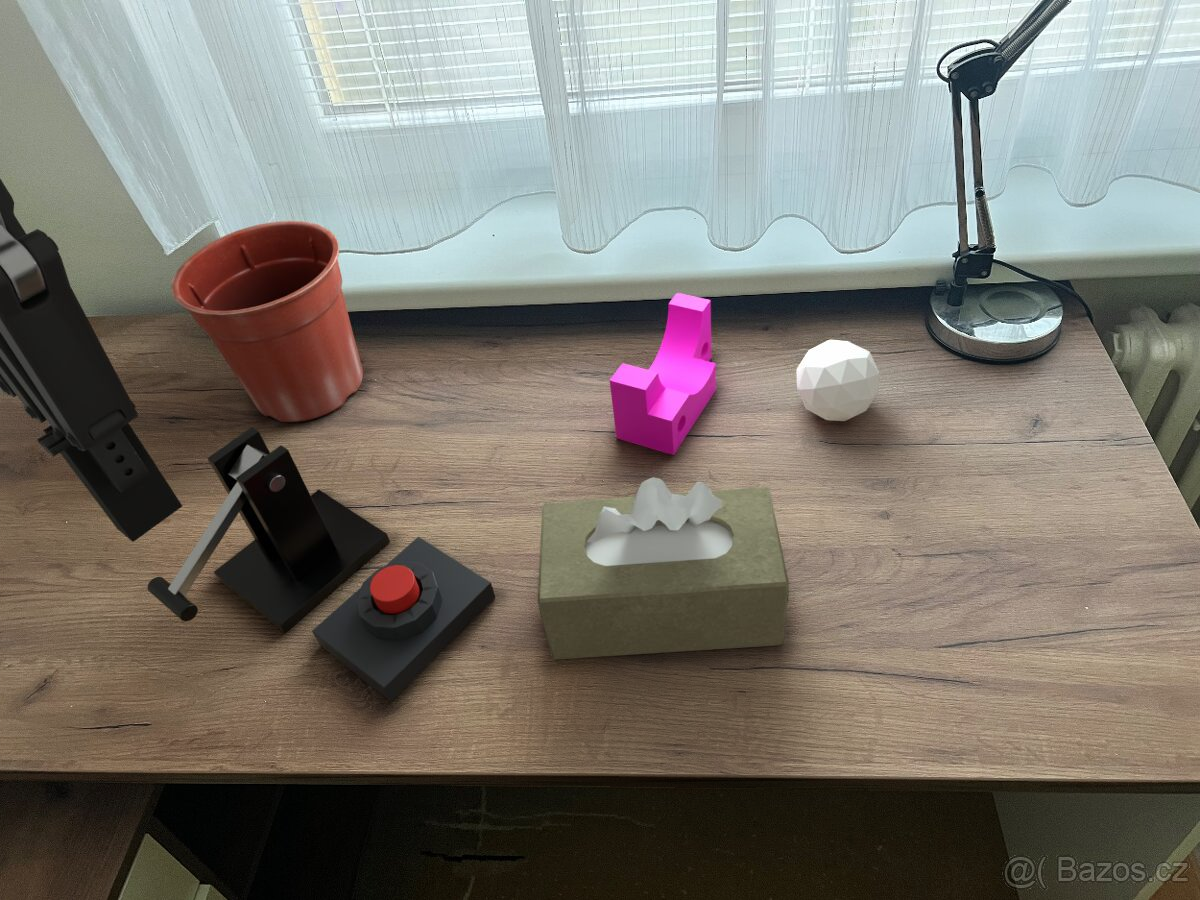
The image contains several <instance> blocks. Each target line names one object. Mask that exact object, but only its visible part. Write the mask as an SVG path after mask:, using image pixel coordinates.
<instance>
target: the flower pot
mask: <svg viewBox="0 0 1200 900" xmlns="http://www.w3.org/2000/svg"><path fill="white" fill-rule="evenodd" d="M339 255H340V245H339V241H338V238H337V236H336V235H335V234H334V233H333V232H332V231H331V230H330V229H328V228H326V227H324V226H322V225H319V224H316V223H315V222H309V221H303V220H282V221H281V220H280V221H271V222H266V223H260V224H256V225H252V226H248V227H245V228H242V229H239V230H235V231H233V232H231V233H228V234H226V235H223V236H221V237H220V238H217V239H215V240H213V241H211V242H209V243H208V244H206V245H204V246H203V247H201V248H199V250H197V251H196V252H194V253H193V254H192V255H191V256H189V257H188V258H187V259H186V260H185V261H184V262H183V263H182V265H181V266H179V267H178V269H177V270H176V272H175V273H174V275H173V278H172V281H171V286H170V288H171V294H172V297H173V299H174V300H175V301H176V303H178V304H179V305H180V307H181V308H183V309H184V310H186V311H188V312H189V313H190V315H191V316H192V318H193V319H194V321H195V322H196V323H197V325H198V327H199V328H200V329H201V330H202V331H203V332H204V333H205V334H207V335H208V336H209V337H210V339H211V340H212V342H213V343H214V345H215V347H216V348H217V349H218V351H219V352H220V354H221V356H222V357H223V359H224V360H225V362H226V364H227V365H228V366H229V368H230V369H231V371H232V373H233V374H234V375H235V377H236V379H237V380H238V381H239V383H240V385H241V386H242V388H243V389H244V391H245V392H246V394H247V395H248V396H249V398H250V400H251V401H252V403H253V404H254V406H255V407H256V409H257V410H258V411H259V413H260V414H262V415H263V416H264V417H271V418H273V419H276V420H278V421H279V422H283V423H297V422H298V423H299V422H305V421H309V420H313V419H317V418H320V417H323V416H325V415H328V414H330V413H332V412H334V411H335V410H337V409H339V408H340V407H342V406H343V405H344V404H345V402H346V400H347V398H349V396H350V395H352V394H355V393H357V391H358V390H359V388H360V387H361V385H362V381H363V377H364V370H363V369H364V368H363V365H362V362H361V359H360V354H359V350H358V346H357V343H356V338H355V335H354V332H353V327H352V324H351V320H350V316H349V313H348V308H347V304H346V300H345V297H344V292H343V289H342V286H343V277H342V272H341V268H340V265H339Z"/></svg>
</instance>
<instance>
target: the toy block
mask: <svg viewBox="0 0 1200 900" xmlns="http://www.w3.org/2000/svg"><path fill="white" fill-rule="evenodd" d="M711 302H712V300H711V299H707V298H702V297H699V296H698V297H697V296H692V295H689V294H684V293H681V292H676V294H675V295H674V296H673V297H672V299H671V300H670V301H669V303H668V312H667V321H666V326H665V331H664V334H663V338H662V341H661V344H660V347H659V350H658V351H657V354H656V356H655V359H654V360H653V362H652V364H651V365H650V367H649V368H648V369H647V368H642V367H638V366H634V365H631V364H628V363H627V364H626V363H624V362H622V364H621V365H620V366H619V367H618V368H617V370H616V371H615V372H614V374H613V375H612V376H611V378H610V379H609V388H610V396H611V405H612V413H613V421H614V429H615V438H616V439H619V440H622V441H625V442H627V443H631V444H635V445H637V446H642V447H645V448H649V449H652V450H656V451H658V452H662V453H664V454H668V455H673V456H674V455H675V454H676V452H677V451H678V449H679V448H680V446H681V445H682V443H683V442H684V440H685V439H686V437H687V435H688V434H689V432H690V431H691V430H692V428H693V426H694V424H695V423H696V422H697V420H698V418H699V417H700V416H701V413H702V412H703V411H704V410H705V408H706V405H707V404H708V403H709V401H710V400H711V398H712V397H713V395H714V393H715V392H716V390H717V373H716V372H717V371H716V370H717V369H716V368H717V367H716V365H717V364H716V362H712V361H711V359H712V306H711V305H712V304H711Z"/></svg>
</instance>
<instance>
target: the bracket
mask: <svg viewBox="0 0 1200 900" xmlns="http://www.w3.org/2000/svg"><path fill="white" fill-rule="evenodd" d="M246 445H249V446H251V447H253V448H256V449H258V450H260V451H262V452H264V453H266V454H268V455H267V456H265V457H264V458H262V459H261V460H260V461H258V462H257V463H256V464H254V465H253V466H252V467H250V468H249V469H247V470H246V471H245V472H243V473H242V474H241V475H239V476H238V477H236V479H237V480H236V479H235V478H233V477H232V476H230V475H229V474H228V473H229V472H230V470H231V469H232V467H233V465H234V464H235V462H236V461H237V459H238V458H239V456H240V455H241V453H242V452H243V450H244V449H245V447H246ZM207 460H208V461H207V462H209V464H210V466H211V467H212V469H213V471H214V472H215V474H216V476H217V478H218V479H219V481H220V483H221V485H222V486H223V488H224V490H225V491H226V493H227V496H228V495H229V493H230V492H231V490H232V489H233V487H234V486H235V484H236V482H237V481H238V483H239V485H240V487H241V488H242V490H243V492H244V494H245V495H246V497H247V501H246V502H245V504H244V505H243V507H242V508H241V510H240V511H239V513H238V514H239V515H240V517H241V518H242V520H243V522H244V524H245V525H246V527H247V529H248V530H249V532H250V534H251V536H252V537H253V540H252V541H251V542H250V543H249V544H247V545H246V546H244V547H243V548H242V549H241V550H240V551H238V552H237V553H235V555H233V556H232V557H231V558H229V559H228V560H227V561H226V562H224V563H223V564H222V565H221V566H220V567H218V568H217V569H216V570H214V571H213V573H214V576H215V577H216V578H217V579H218V581H219V582H220V583H222V584H223V585H224V586H225V587H227V588H228V589H229V590H230V591H232V593H234V594H235V595H237V596H238V597H239V598H240V599H241V600H243V601H244V602H246V604H248V605H249V606H250V607H251V608H253V609H254V610H255V611H256V612H258V613H259V614H260V615H261V616H263V617H264V618H265V619H266V620H267V621H268V622H270V623H271V624H273V625H274V626H275V627H276V628H277V629H279V630H280V631H281V632H282V633H284V634H286V633H287V632H289V631H290V630H291V629H292V628H294V626H296V625H297V624H298V623H300V621H302V619H304V618H305V617H306V616H307V615H308V614H310V612H312V611H313V610H314V609H315V608H316V607H318V605H320V604H321V603H323V601H324V600H325V599H327V598H328V597H329V596H330V595H331V594H332V593H334V591H336V590H337V589H338V588H339V587H341V585H342V584H344V583H345V582H346V581H347V580H349V579H350V578H351V577H352V576H353V575H354V574H356V572H358V571H359V570H360V569H361V568H362V567H363V566H364V565H365V564H367V563H368V562H369V561H370V560H371V559H373V558H374V557H375V556H376V555H377V554H379V553H380V552H381V551H382V550H383V549H385V547H386V546H387V545H389V544H390V543H391V540H390V537H389V535H388V533H387V532H385V531H384V530H382V529H381V528H379V527H377V526H376V525H374V524H373V523H371V522H370V521H368V520H367V519H365V518H364V517H362V516H361V515H359V514H358V513H356V512H354V511H353V510H351V508H348V507H346V506H345V505H344V504H342V503H341V502H339V501H337V500H336V499H335V498H334V497H333V498H332V497H331V496H330V495H328V494H327V493H326V492H324V491H322V490H320V489H317V490H316V491H315V492H313V493H312V494H310V491H309V489H308V487H307V485H306V483H305V481H304V479H303V477H302V475H301V473H300V471H299V469H298V467H297V465H296V463H295V460H294V459H293V457H292V455H291V453H290V451H289V449H288V448H287V447H285V446H283V445H279V446H277V447H276V448H275V449H273V450H272V451H271V452H270V450H269V448H268V446H267V444H266V442H265V440H264V438H263V436H262V434H261V432H260V431H259V430H258V429H256V428H255V427H253V426H251V427H249V428H247V429H246V430H245V431H244V432H242V433H241V434H240V435H238V436H236V437H235V438H234V439H232V440H231V441H230V442H228V443H227V444H225V445H224V446H222V447H221V448H220V449H218V450H217V451H215V452H214V453H212V454H211V455H210V456H208V457H207Z"/></svg>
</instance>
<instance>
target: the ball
mask: <svg viewBox="0 0 1200 900" xmlns="http://www.w3.org/2000/svg"><path fill="white" fill-rule="evenodd" d="M795 371H796V388H797V392H798V394H799V397H800V398H801V401H802V404H803V406H804V409H805V410H807V411H809V412H811V413H813V414H814V415H816V416H818V417H819V418H822V419H824V420H825V421H835V422H846V421H848V420H850V419H852V418H855V417H856V416H858V415H861V414H863V413H865V412H866V411H867V410H868V409H869V408H870V405H871V404H872V402H873V401H874V400H875V398H876V396H877V395H878V393H879V392H880V371H879V368H878V366H877V364H876V363H875V360H874V358H873V356H872V353H871V352H870V351H869V350H868V349H865V348H863V347H860V346H858V345H856V344H854V343H853V342H850V341H848V340H838V339H829V340H826V341H824V342H822V343H820V344H818V345H816V346H815V347H812V348H811V349H808V351H807V352H806V353H805V355H804V357H803V359H802V360H801V362H800V364H798V366H797V368H796V370H795Z"/></svg>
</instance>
